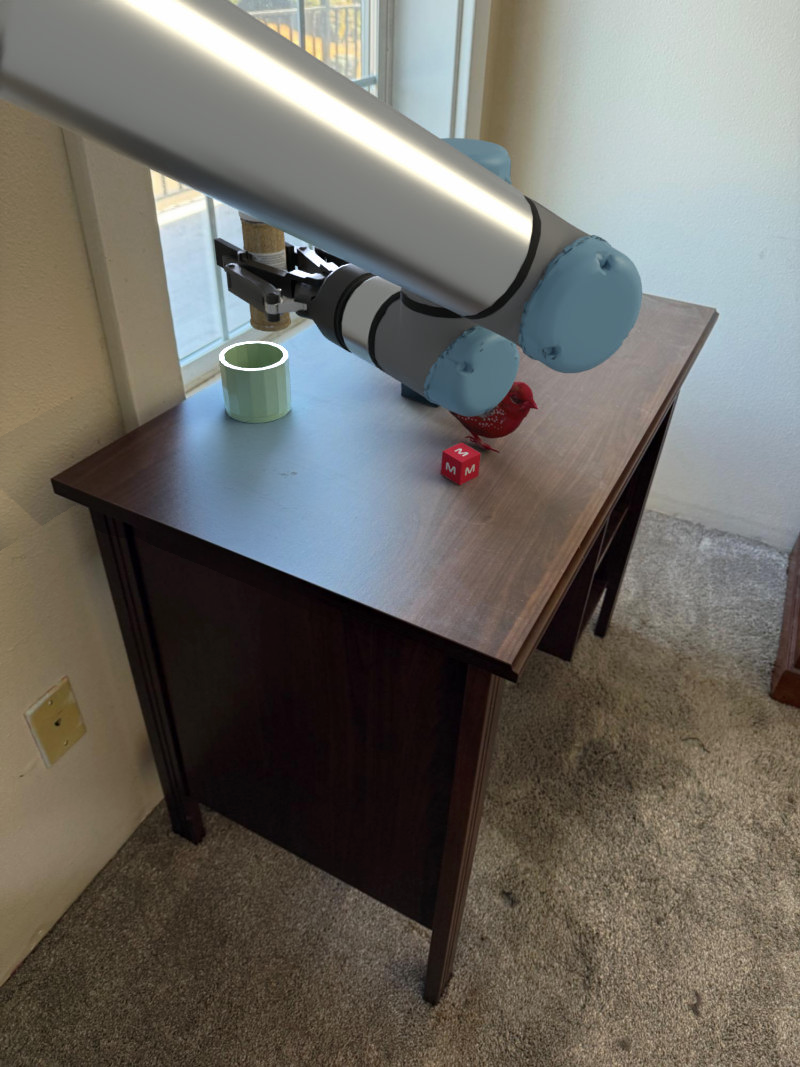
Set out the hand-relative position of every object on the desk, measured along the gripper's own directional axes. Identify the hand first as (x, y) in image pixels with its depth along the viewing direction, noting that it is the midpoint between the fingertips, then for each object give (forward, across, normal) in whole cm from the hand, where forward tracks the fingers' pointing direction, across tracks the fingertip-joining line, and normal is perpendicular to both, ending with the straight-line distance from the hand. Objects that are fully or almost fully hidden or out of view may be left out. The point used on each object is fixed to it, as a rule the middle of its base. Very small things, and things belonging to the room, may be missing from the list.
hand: (239, 247), depth 81 cm
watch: (-10, +20, -20) cm, 30 cm away
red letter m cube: (-26, +11, -20) cm, 35 cm away
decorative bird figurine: (-21, +16, -20) cm, 34 cm away
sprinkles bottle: (-5, 0, -7) cm, 9 cm away
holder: (0, +1, -20) cm, 20 cm away
